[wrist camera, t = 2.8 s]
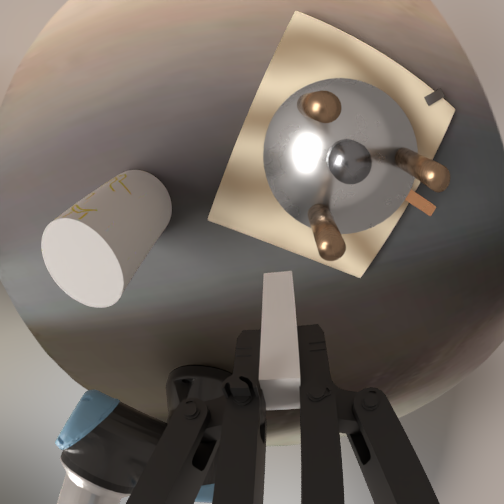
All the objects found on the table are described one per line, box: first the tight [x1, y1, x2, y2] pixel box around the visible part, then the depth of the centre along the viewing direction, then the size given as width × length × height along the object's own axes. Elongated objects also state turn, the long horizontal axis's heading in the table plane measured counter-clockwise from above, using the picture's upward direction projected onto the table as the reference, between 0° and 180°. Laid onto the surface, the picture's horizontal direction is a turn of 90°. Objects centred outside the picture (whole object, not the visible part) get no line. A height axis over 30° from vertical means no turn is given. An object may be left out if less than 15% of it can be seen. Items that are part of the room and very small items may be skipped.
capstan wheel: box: [263, 78, 450, 261], centre depth 19 cm, size 14×18×8 cm
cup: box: [41, 170, 172, 308], centre depth 23 cm, size 8×8×12 cm
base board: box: [207, 11, 455, 278], centre depth 23 cm, size 23×18×2 cm
